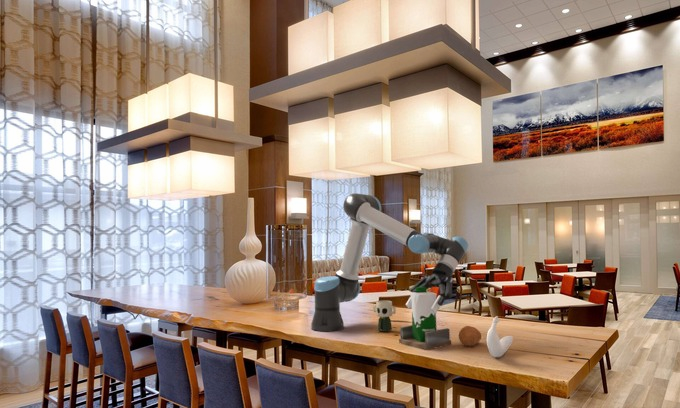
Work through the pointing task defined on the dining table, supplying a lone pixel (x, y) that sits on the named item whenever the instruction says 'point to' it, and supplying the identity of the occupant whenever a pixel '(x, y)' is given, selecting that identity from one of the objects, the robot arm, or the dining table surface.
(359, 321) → the dining table surface
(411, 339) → the grey square holder
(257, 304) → the dining table surface
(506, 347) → the white bird figurine
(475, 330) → the potato
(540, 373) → the dining table surface
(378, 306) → the white and green figurine
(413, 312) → the soya milk
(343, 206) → the robot arm
